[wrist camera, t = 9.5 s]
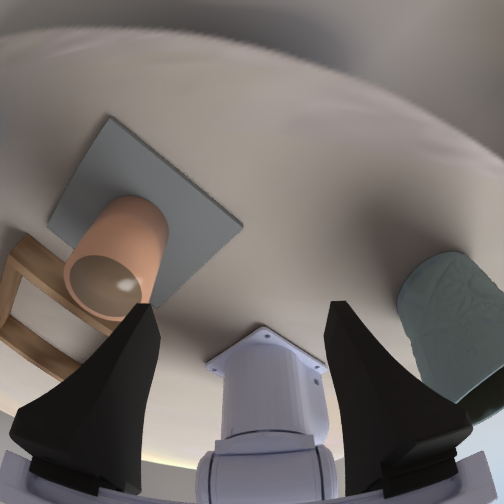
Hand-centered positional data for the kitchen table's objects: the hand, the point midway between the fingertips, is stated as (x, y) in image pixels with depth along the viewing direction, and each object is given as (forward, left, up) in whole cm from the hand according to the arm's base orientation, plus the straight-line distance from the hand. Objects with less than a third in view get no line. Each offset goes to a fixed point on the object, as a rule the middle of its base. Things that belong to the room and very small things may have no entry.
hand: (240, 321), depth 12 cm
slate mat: (+5, +6, -9) cm, 12 cm away
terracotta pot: (+5, +6, -9) cm, 12 cm away
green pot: (-17, -7, -10) cm, 21 cm away
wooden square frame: (+5, +20, -9) cm, 23 cm away
